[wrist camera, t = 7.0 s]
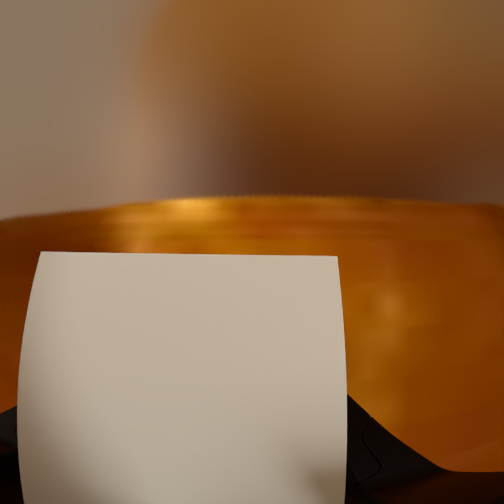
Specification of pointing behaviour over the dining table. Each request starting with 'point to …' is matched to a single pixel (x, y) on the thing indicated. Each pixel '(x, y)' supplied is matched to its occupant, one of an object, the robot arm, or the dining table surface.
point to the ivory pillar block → (183, 380)
